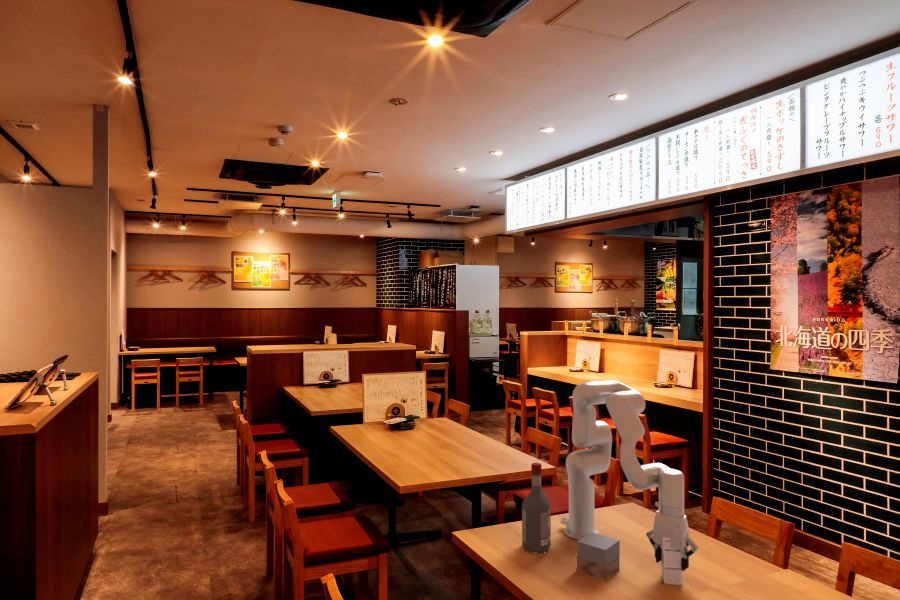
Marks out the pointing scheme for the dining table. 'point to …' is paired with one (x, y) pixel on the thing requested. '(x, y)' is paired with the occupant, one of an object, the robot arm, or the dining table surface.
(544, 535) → the liquor
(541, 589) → the dining table surface
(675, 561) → the syrup box
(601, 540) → the grey square block
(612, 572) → the walnut block
